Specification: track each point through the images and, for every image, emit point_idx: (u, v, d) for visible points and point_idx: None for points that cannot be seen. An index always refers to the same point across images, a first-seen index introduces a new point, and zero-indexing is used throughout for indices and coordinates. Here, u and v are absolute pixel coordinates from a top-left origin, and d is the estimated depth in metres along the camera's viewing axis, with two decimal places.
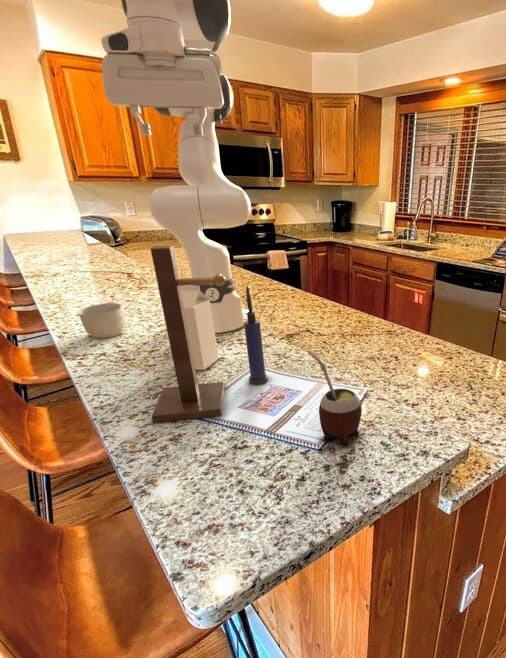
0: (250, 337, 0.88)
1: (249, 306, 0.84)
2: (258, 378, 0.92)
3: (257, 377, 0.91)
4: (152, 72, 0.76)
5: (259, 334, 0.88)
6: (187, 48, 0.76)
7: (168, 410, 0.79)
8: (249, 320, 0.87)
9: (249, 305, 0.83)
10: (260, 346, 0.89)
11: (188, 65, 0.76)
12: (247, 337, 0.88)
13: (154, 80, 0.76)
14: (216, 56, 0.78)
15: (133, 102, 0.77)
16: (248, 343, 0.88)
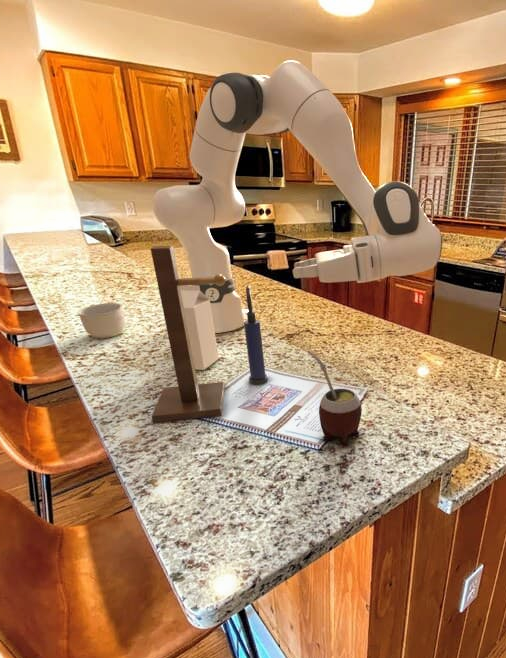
0: (250, 337, 0.88)
1: (249, 306, 0.84)
2: (258, 378, 0.92)
3: (257, 377, 0.91)
4: None
5: (259, 334, 0.88)
6: None
7: (168, 410, 0.79)
8: (249, 320, 0.87)
9: (249, 305, 0.83)
10: (260, 346, 0.89)
11: None
12: (247, 337, 0.88)
13: None
14: None
15: None
16: (248, 343, 0.88)
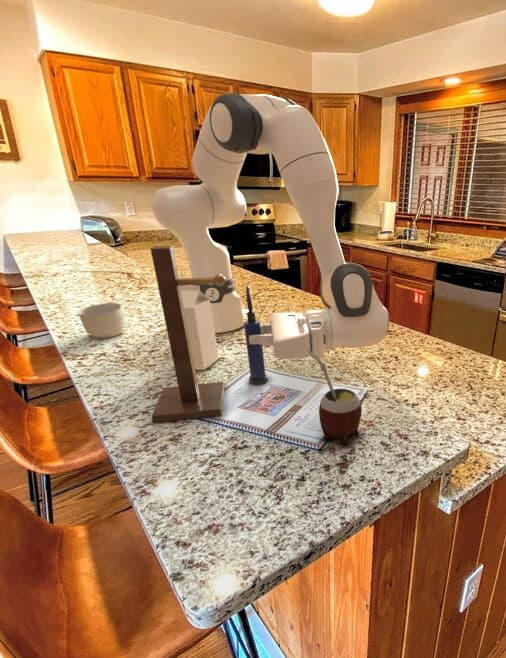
0: None
1: (249, 306, 0.84)
2: (258, 378, 0.92)
3: (257, 377, 0.91)
4: None
5: (259, 334, 0.88)
6: None
7: (168, 410, 0.79)
8: (249, 320, 0.87)
9: (249, 305, 0.83)
10: (260, 346, 0.89)
11: None
12: (247, 337, 0.88)
13: None
14: None
15: None
16: (248, 343, 0.88)
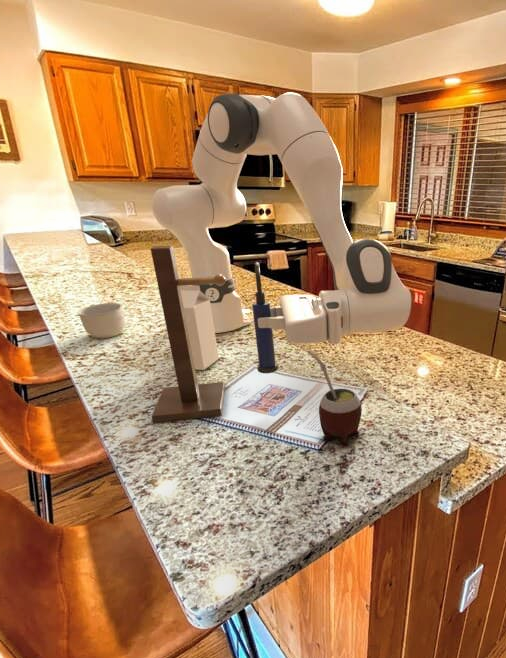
0: None
1: (258, 284, 0.75)
2: (267, 366, 0.83)
3: (266, 365, 0.83)
4: None
5: None
6: None
7: (168, 410, 0.79)
8: (258, 301, 0.78)
9: (258, 283, 0.74)
10: (270, 330, 0.80)
11: None
12: (256, 320, 0.79)
13: None
14: None
15: None
16: (257, 327, 0.80)
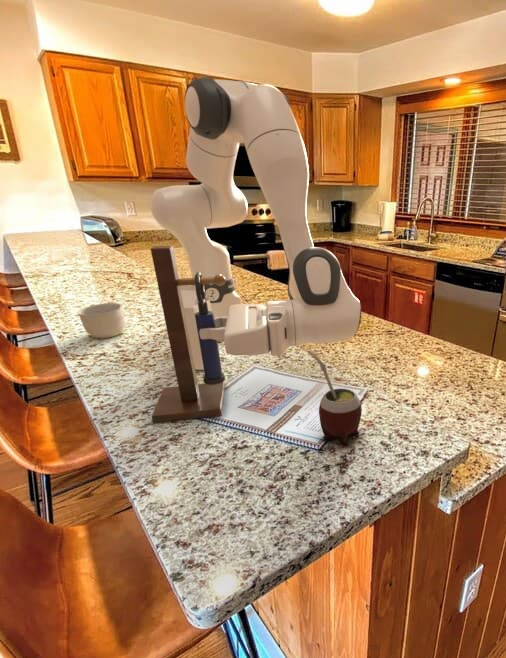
0: None
1: (198, 295, 0.73)
2: (213, 377, 0.81)
3: (212, 376, 0.81)
4: None
5: (212, 327, 0.78)
6: None
7: (168, 410, 0.79)
8: (200, 311, 0.76)
9: (198, 293, 0.73)
10: (214, 341, 0.79)
11: None
12: (198, 331, 0.77)
13: None
14: None
15: None
16: None
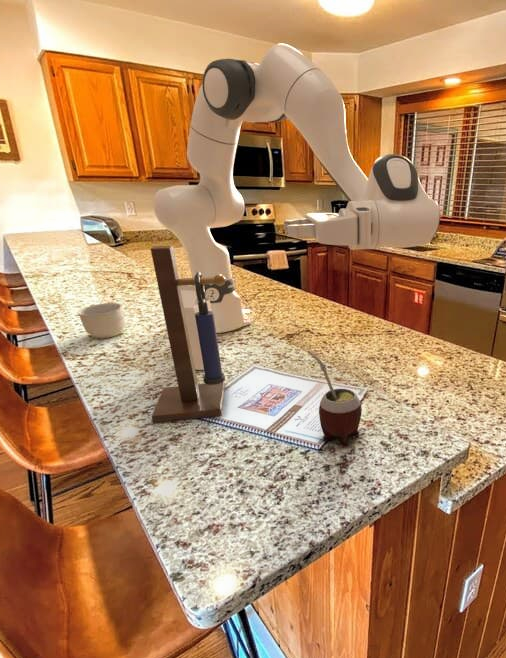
0: (201, 331, 0.77)
1: (198, 295, 0.73)
2: (213, 377, 0.81)
3: (212, 376, 0.81)
4: None
5: (212, 327, 0.78)
6: None
7: (168, 410, 0.79)
8: (200, 311, 0.76)
9: (198, 293, 0.73)
10: (214, 341, 0.79)
11: None
12: (199, 331, 0.77)
13: None
14: None
15: (316, 240, 0.76)
16: (200, 337, 0.78)
